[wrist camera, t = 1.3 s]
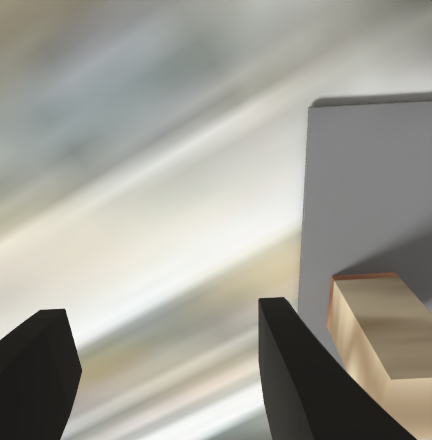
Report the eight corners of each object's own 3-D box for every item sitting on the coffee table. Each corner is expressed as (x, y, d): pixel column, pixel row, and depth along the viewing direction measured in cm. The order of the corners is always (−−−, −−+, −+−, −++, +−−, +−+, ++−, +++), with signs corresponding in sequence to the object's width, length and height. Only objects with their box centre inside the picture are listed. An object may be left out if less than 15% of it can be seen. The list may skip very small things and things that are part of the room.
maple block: (385, 322, 22) (463, 437, 15) (326, 325, 22) (378, 441, 15) (395, 272, 20) (485, 374, 14) (331, 275, 20) (391, 379, 14)
